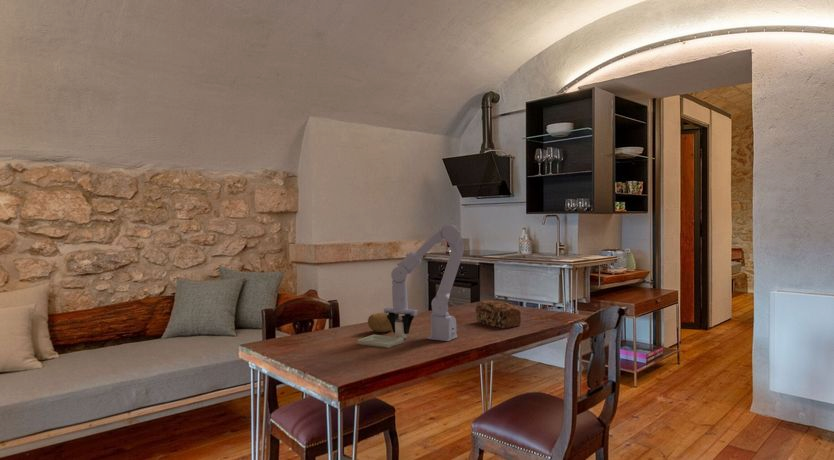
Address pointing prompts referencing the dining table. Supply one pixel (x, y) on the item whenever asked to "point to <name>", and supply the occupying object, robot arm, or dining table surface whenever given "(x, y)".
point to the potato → (379, 322)
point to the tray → (380, 341)
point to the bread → (498, 314)
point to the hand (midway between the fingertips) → (401, 332)
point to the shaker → (399, 328)
